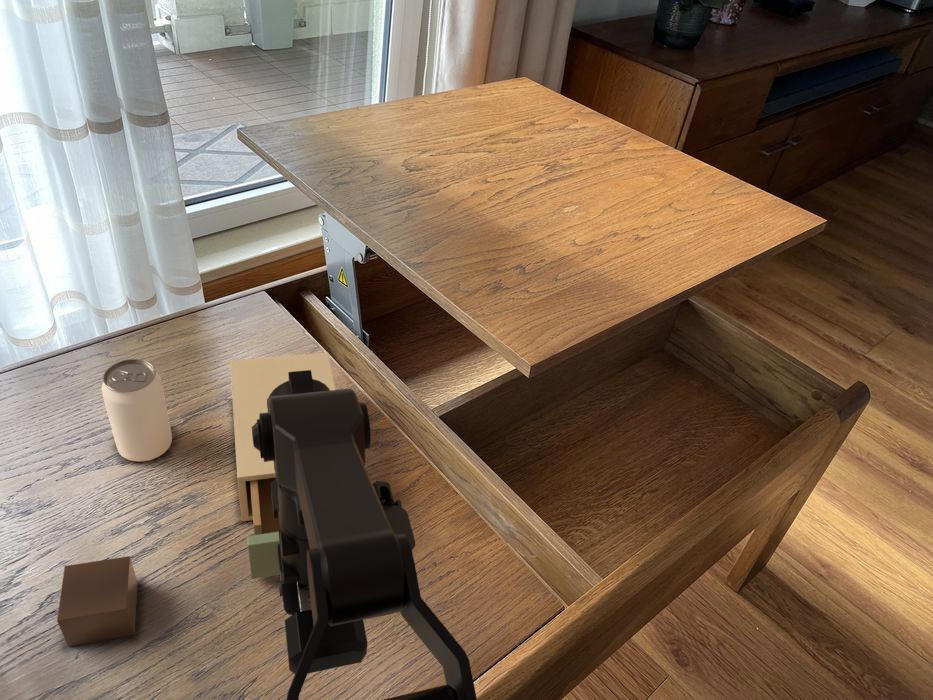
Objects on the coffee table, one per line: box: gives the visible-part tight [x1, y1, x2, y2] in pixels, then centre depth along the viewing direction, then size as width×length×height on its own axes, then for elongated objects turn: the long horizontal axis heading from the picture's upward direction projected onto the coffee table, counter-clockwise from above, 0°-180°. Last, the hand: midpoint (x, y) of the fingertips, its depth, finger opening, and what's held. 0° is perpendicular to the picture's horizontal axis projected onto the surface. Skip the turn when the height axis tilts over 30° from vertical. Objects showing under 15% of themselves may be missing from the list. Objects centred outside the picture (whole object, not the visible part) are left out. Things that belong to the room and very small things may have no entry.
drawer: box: [246, 477, 284, 598], centre depth 82 cm, size 23×11×6 cm, turn 16°
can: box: [101, 358, 173, 463], centre depth 87 cm, size 6×6×12 cm
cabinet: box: [229, 352, 337, 522], centre depth 90 cm, size 20×13×8 cm, turn 16°
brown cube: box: [56, 555, 139, 647], centre depth 72 cm, size 6×6×5 cm
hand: (314, 610), depth 68 cm, fingers closed
